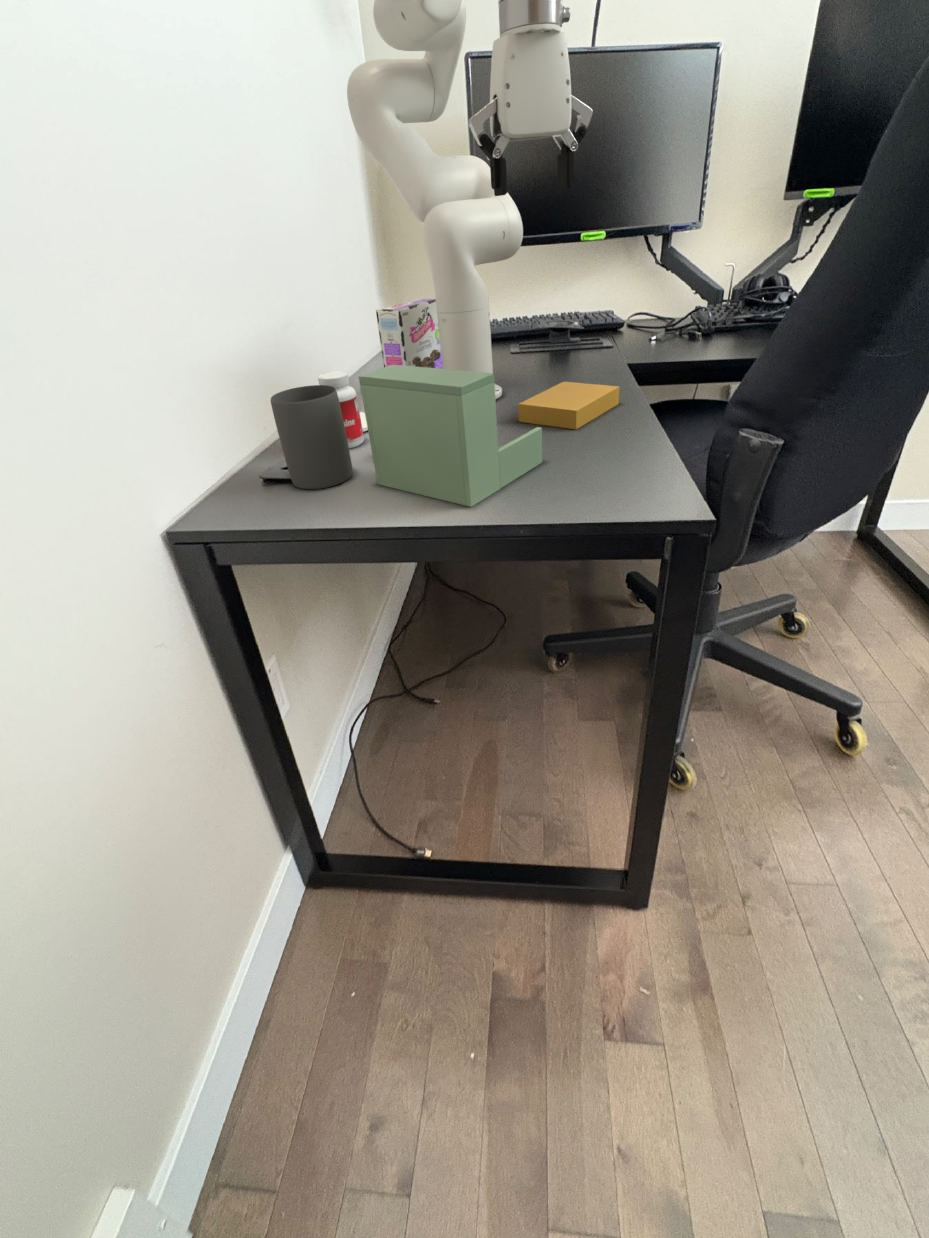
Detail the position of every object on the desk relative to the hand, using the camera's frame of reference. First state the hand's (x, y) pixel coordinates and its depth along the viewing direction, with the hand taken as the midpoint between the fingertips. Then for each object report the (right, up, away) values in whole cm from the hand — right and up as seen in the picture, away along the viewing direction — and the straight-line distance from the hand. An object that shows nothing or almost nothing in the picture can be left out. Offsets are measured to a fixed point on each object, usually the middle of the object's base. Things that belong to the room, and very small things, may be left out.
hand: (533, 192), depth 83 cm
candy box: (-19, -12, +42) cm, 47 cm away
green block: (-10, -39, +1) cm, 40 cm away
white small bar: (-30, -24, +27) cm, 47 cm away
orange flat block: (+9, -24, +20) cm, 32 cm away
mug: (-32, -38, +6) cm, 50 cm away
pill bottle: (-29, -30, +17) cm, 45 cm away
